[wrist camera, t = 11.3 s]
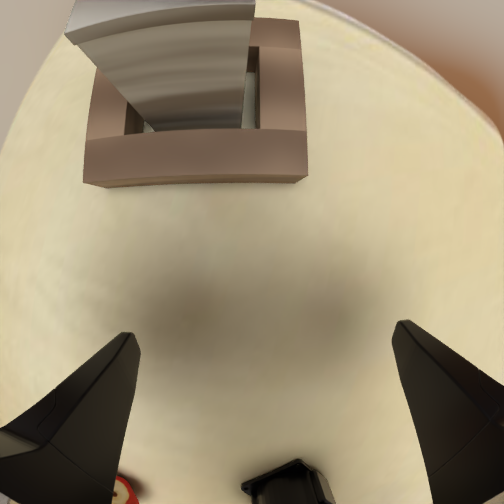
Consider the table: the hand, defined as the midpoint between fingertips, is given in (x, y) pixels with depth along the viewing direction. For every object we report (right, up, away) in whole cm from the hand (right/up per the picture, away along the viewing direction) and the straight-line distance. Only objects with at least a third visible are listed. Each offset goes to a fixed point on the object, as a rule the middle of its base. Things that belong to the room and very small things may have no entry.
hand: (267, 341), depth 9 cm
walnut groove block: (-4, +12, +8) cm, 16 cm away
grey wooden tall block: (-4, +12, +9) cm, 16 cm away
